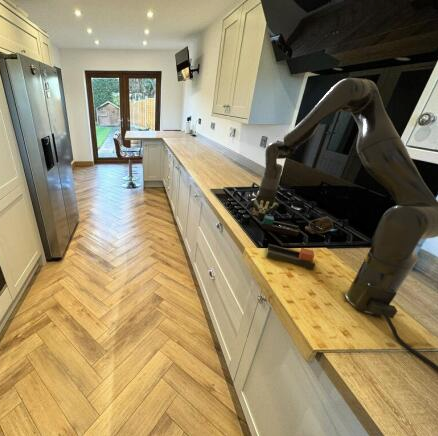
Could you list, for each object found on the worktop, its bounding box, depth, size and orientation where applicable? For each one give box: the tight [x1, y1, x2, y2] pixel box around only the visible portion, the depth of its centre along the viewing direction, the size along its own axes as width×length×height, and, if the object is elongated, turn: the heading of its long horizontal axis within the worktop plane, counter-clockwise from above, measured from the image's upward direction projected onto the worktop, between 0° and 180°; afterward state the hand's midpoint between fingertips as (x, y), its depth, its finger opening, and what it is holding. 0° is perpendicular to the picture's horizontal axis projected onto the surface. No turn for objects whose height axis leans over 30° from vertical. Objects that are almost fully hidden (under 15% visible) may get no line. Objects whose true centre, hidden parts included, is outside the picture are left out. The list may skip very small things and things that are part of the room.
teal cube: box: [262, 215, 275, 225], centre depth 117 cm, size 4×4×4 cm
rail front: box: [265, 243, 316, 271], centre depth 93 cm, size 7×16×3 cm, turn 62°
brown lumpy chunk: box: [304, 216, 335, 235], centre depth 115 cm, size 7×13×10 cm
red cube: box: [299, 247, 315, 262], centre depth 90 cm, size 4×4×4 cm
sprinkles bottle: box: [252, 190, 264, 217], centre depth 129 cm, size 5×5×13 cm
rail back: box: [260, 218, 300, 238], centre depth 115 cm, size 7×16×3 cm, turn 62°
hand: (260, 219), depth 118 cm, fingers closed
